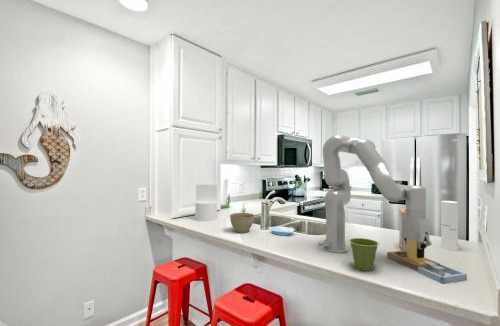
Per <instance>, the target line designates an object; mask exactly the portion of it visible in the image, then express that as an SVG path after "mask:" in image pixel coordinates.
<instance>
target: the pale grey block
mask: <svg viewBox="0 0 500 326" xmlns="http://www.w3.org/2000/svg"><path fill="white" fill-rule="evenodd" d="M436 265H437V264H435V263H432V262H430V261H429V262H424V269H426V270H428V271H431V266H436Z"/></svg>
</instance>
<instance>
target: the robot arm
mask: <svg viewBox="0 0 500 326" xmlns="http://www.w3.org/2000/svg"><path fill="white" fill-rule="evenodd" d="M340 152H341V153H347V154H353V155H356V156H357V158H358V159H359V160H360V161H361V164H363V166H364V167H365V168H366V170H367V171H368V173H369V176H370V177H371V179H372V181H373V183H374V185H375V187H376V188H377V189H378V191H379V192H380V193H381V195H382V197H384V199H386V200H387V201H389V202H391V203H397V202H400V201H404V200H405V208H406V209H405V210H404V211H405V212H406V215H404V218H403V223H402V234H401V236H402V237H403V238H404V240H405V241H406V244H407V239H410V240H413V241H416V242H417V243H418V249H417V258H425V250H426V249H427V247H430V246H432V245H433V244H432V241H431V239H430V227H429V221H428V218H427V189H426V187H425V186H423V185H414V184H413V185H411V184H410V185H405V184H401V183H400V184H399V183H396V182H395V180H394V179H393V178H392V176H391V174H390V173H389V170H388V168H387V163H386V161H385V160H384V159H383V157H382V156H381V154H380V153H379V152H378V150H377V149H376V145H375V143H374V142H373V141H372V140H370V139H366V138H356V137H355V138H354V137H349V136H345V135H341V134H335V135H333V136H332V135H331V136H330V137H329V138H328V139H326V141H325V142H324V144H323V147H322V159H323V169H324V170H323V171H324V172H323V173H324V181H325V184H326V185H328V186H329V187H332V189H330V190H328V191H327V192H326V194H325V196H324V205H325V239H324V240H323V241H319V242H317V245H318V247H322V248H323V249H324V250H325V251H326V252H331V253H336V254H337V253H338V254H343V253H347V252H349V247H347V245H346V210H345V205H347V204H349V203H350V201H351V196H352V195H351V184H350V177H349V174H348V173H347V171H345V169H342V166H341V165H342V164H341V158H340V155H339V154H340ZM421 243H422V245H421Z"/></svg>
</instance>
